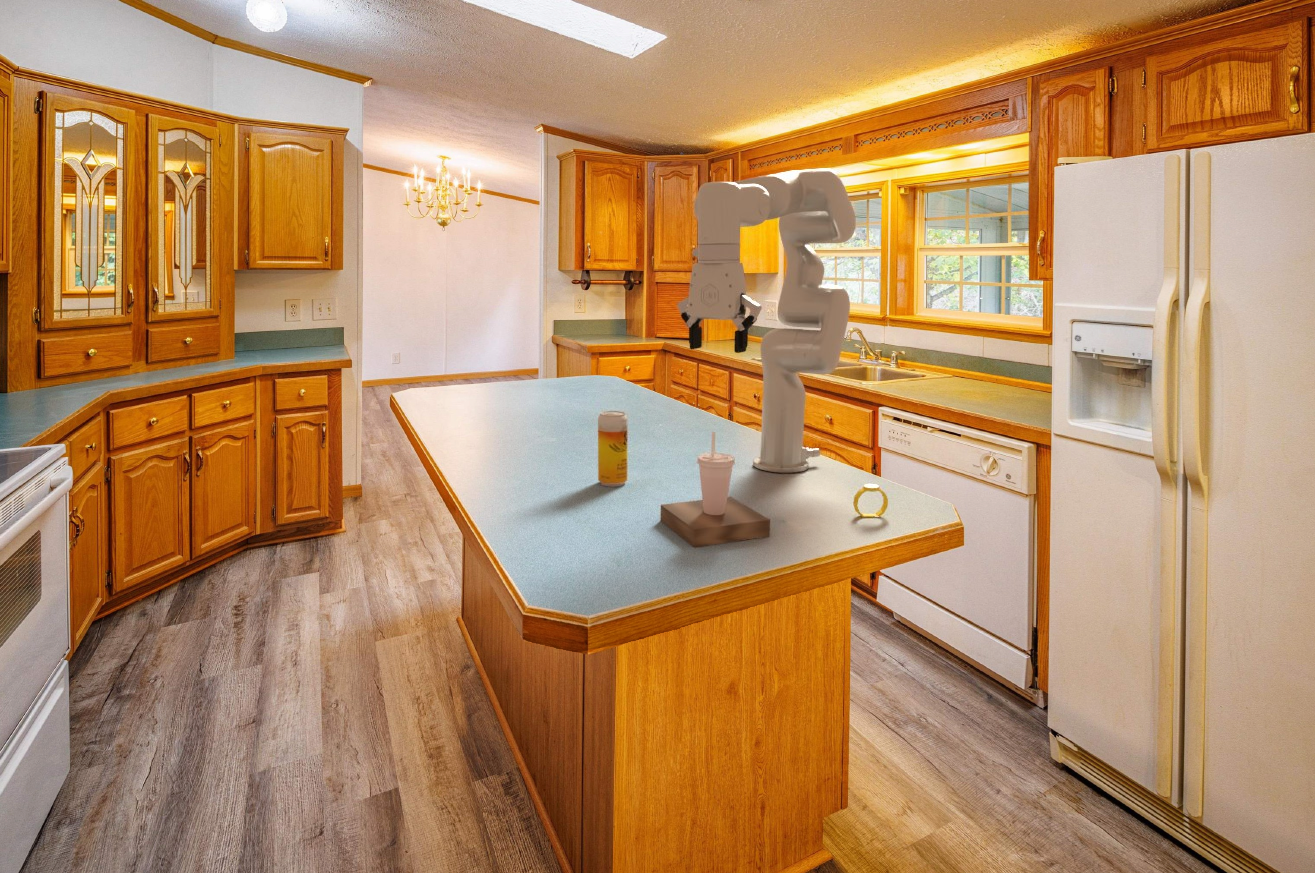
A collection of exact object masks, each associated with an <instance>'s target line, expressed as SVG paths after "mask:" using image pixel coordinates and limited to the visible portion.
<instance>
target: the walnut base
mask: <svg viewBox="0 0 1315 873" xmlns="http://www.w3.org/2000/svg"><path fill="white" fill-rule="evenodd" d="M660 522H661V523H662V524H664V526H665V525H666V527H668V528H669V529H670V530H672V532H674V533H675V534H677V535H678V536H679V537H680V538H682V539H683V540H684V541H685V542H687V543H688V544H689V545H690V546H692V547H693V548H699V547H704V546H706V547H707V546H712V545H719V544H720V545H721V544H728V543H733V542H732V541H735V542H741V541H740V540H742V541H747V540H746V539H750V540H754V539H753V538H757V539H761V538H760V537H764V538H770V537H769V536H770V535H771V533H770V532H771V531H770V530H771V519H770V518H769V517H767V516H765V515H763V514H762V513H760V512H758V511H756V510H754V509H752V508H751V507H749V506H748V505H746V504H744V503H743V502H741V501H739V500H738V499H736V498H734V497H732V496H728V497H727V503H726V509H725V513H724V514H722V515H709V514H706V513H704V511H703V500H702V499H698V500H690V501H683V502H682V501H681V502H672V503H664V504H662V503H661V504H660ZM727 542H728V543H727Z"/></svg>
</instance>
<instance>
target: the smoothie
mask: <svg viewBox="0 0 1315 873" xmlns="http://www.w3.org/2000/svg"><path fill="white" fill-rule="evenodd" d="M715 448H716V431H712V432H711V450H710V451H711V452H707V453H702V454H699V455H698V456H697V460H696V463H697V464H698V465H699V467H698V468H699V476H700V477H699V478H700V488H701V498H702V499H701V500H703V511H704V513H706V514H709V515H722V514H724V513H725V509H726V503H727V497H729V490H730V482H731V477H732V472H733V466H734V465H735V457H734V456H733V455H730V454H727V453H723V452H722V453H719V452H716V449H715Z"/></svg>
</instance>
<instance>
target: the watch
mask: <svg viewBox="0 0 1315 873" xmlns="http://www.w3.org/2000/svg"><path fill="white" fill-rule="evenodd" d="M865 492H866V493H867V492H879V493H880V494H881V496H882V497H883V499H882V500H883V503H882V506H881V508H880V509H879V510H878V511H877V512H876V513H862V512H860V510H859V507H858V504H859V499H860V498H861V496H862V495H863V494H864V493H865ZM888 506H889V498H888V495H887V494H886V492H885V491H883V490H882V489H880V486H879V485H878V484H876V483H865V484H864V485H863V487H862V488H861V489H859V490H858V491H857V492H856V493H855V495H854V498H853V507H854V510H855V512H856V513H857V514H858V515H859V516H860V517H861V518H863V517H865V518H866V517H869V518H876V517H875V516H880V517H881V516H882V515H884V514H885V513H886V511H887V509H888Z"/></svg>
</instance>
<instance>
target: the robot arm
mask: <svg viewBox="0 0 1315 873" xmlns="http://www.w3.org/2000/svg"><path fill="white" fill-rule="evenodd" d="M693 202H694V203H693V214H694V217H695V218H696V220H697V248H693V250H692V255H693V256H694V257H696V258H697V262H695V263H693V266H692V270H691V274H690V280H689V290H688V296H687V297H686V298H684V299H682V300H680V301H679V302H677V303H676V305H677V309H678V310H679V313H680V316H681V318H682V321H684V323H685V325H686V328H688V343H689V349H690V350H697V349H700V348H702V347H703V328H702V326H700V325H701V323H702V322H703V320H725V321H727V320H731V321H732V323H733V324H734V325H735V327H736V329H737V330H735V331H734V346H733V347H734V350H733V351H734V353H735V354H736V353H737V354H740V353H745V352H746V351H747V347H748V346H749V344H748V340H749V339H748V338H749V331H748V330H750V329H751V327H752V326H753V325H754V324H755V323H756V322H757V320H758V317H759V315H760V313H761V311H762V308H763V307H762V306H761V304H759V303H758V302H756V301H754V300H752V299H751V297H748V296H747V285H746V284H747V283H746V275H745V271H744V270H745V269H744V264H743V262H740V257H741V256H740V253H741V252H740V251H741V250H740V249H741V245H740V243H741V228H744V227H747V228H748V227H749V228H750V227H755V226H759V225H761V224H762V223H764V222H765V221H767V220H771V221H772V220H774V219H775V220H776V219H778V231H779V236H780V239H781V242H782V243H781V244H782V247H783V250H784V254H785V258H786V270H785V275H784V279H783V283H782V287H781V291H780V296H779V300H778V304H777V318H778V320H779V321H780V323H781V324H783V325H785V326H789V327H792V328H787V327H786V328H775V329H771V330H770V331H768V332H766V333H765V334H764V335H763V337H762V338H761V342H760V347H759V348H760V351H759V352H760V360H761V367H762V376H763V377H762V380H763V382H762V386H763V388H762V408H761V409H762V410H761V429H760V431H761V435H760V455H759V456H758V457H755V458H754V459H753V461H752V463H753V464H752V465H753V467H754V468H757V469H758V470H761V471H766V472H771V473H780V474H781V473H782V474H783V473H784V474H786V473H787V474H789V473H790V474H791V473H800V472H804V471H806V470H808V469H809V462H808V459H809V458H816V457H820V455H821V450H820V448H809V447H805V446H804V444H803V443H804V427H805V410H806V409H805V408H806V389H805V386H804V384H803V382H802V379H801V378H800V377H799V375H798V374H810V375H811V374H813V375H829V374H832V373H833V372H834V371H835V370H836V368H837V366H838V365H839V361H840V358H841V353H842V349H843V346H844V339H845V336H846V332H847V331H846V330H847V326H848V322H849V317H850V309H851V306H850V305H851V303H850V296H849V293H848V291H847V290H846V289H845V288H844V287H842V286H841V285H840V286H839V285H835V284H823V279H824V276H825V265H824V263H823V261H822V259H821V257H820V256H819V254H818V253H817V252H816V251H815V250H814V248H813V247H812V245H813V244H814V245H815V244H842V243H845V242H848V241H849V240H850V239H851V238H852V237H853V236H854V233H855V231H856V225H857V224H856V223H857V222H856V214H855V211H854V206H853V204H852V202H851V200H850V197H849V194H848V192H847V190H846V187H845V185H844V183H843V181H842V179H841V177H839V175H838V174H837V173H836V172H835V171H834V170H833V169H831V168H815V169H814V168H813V169H812V168H811V169H801V170H797V169H796V170H788V171H783V172H778V173H772V174H767V175H761V176H757V177H750V178H747V179H742V180H737V181H736V180H734V181H712V182H711V181H709V182H705V183H702V184H701V185H700V187H699V188H698V192H697V193H696V196H695V199H694V201H693ZM747 308H748V309H749V310H750V311H749V314H748V316H747V317H746V316H745V315H746V314H747V313H746V312H747ZM793 327H794V328H793ZM804 328H805V329H804ZM806 328H807V329H806ZM808 328H809V329H808ZM810 328H811V329H810ZM812 328H813V329H812ZM816 329H819V330H816Z"/></svg>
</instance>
